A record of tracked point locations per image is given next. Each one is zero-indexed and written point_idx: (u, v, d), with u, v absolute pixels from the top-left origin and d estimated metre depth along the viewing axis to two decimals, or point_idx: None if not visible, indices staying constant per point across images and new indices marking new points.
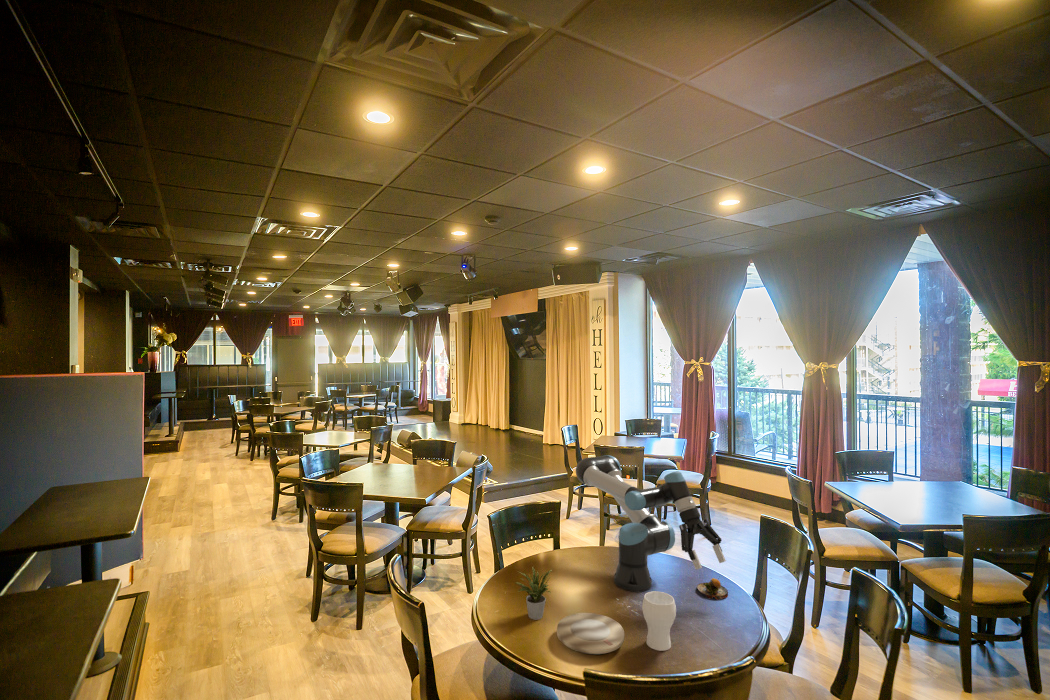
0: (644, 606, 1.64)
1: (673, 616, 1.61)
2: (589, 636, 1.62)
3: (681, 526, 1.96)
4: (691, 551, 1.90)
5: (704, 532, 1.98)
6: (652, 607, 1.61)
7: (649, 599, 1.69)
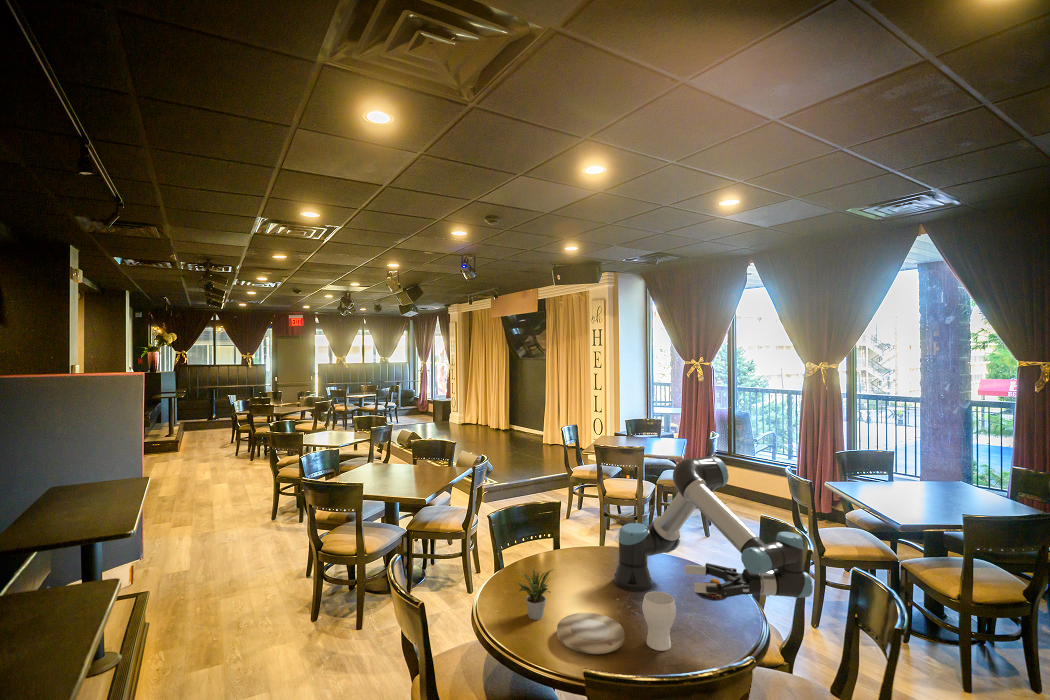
0: (644, 606, 1.64)
1: (673, 616, 1.61)
2: (589, 636, 1.62)
3: (747, 590, 1.55)
4: None
5: (724, 578, 1.66)
6: (652, 607, 1.61)
7: (649, 599, 1.69)
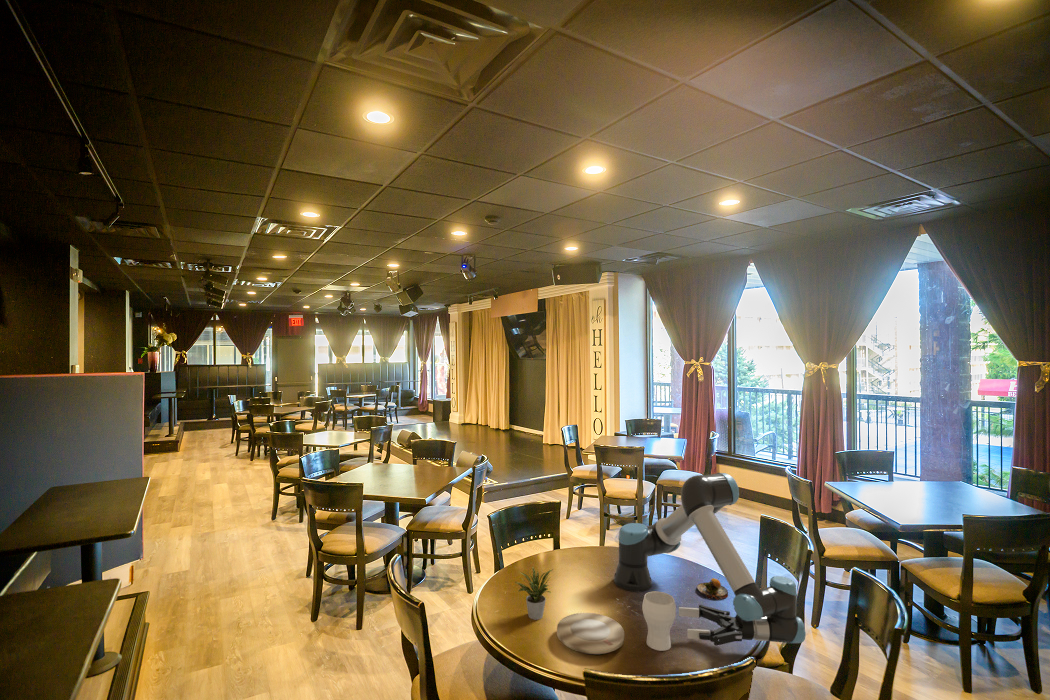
0: (644, 606, 1.64)
1: (673, 616, 1.61)
2: (589, 636, 1.62)
3: (740, 637, 1.55)
4: None
5: (717, 621, 1.65)
6: (652, 607, 1.61)
7: (649, 599, 1.69)
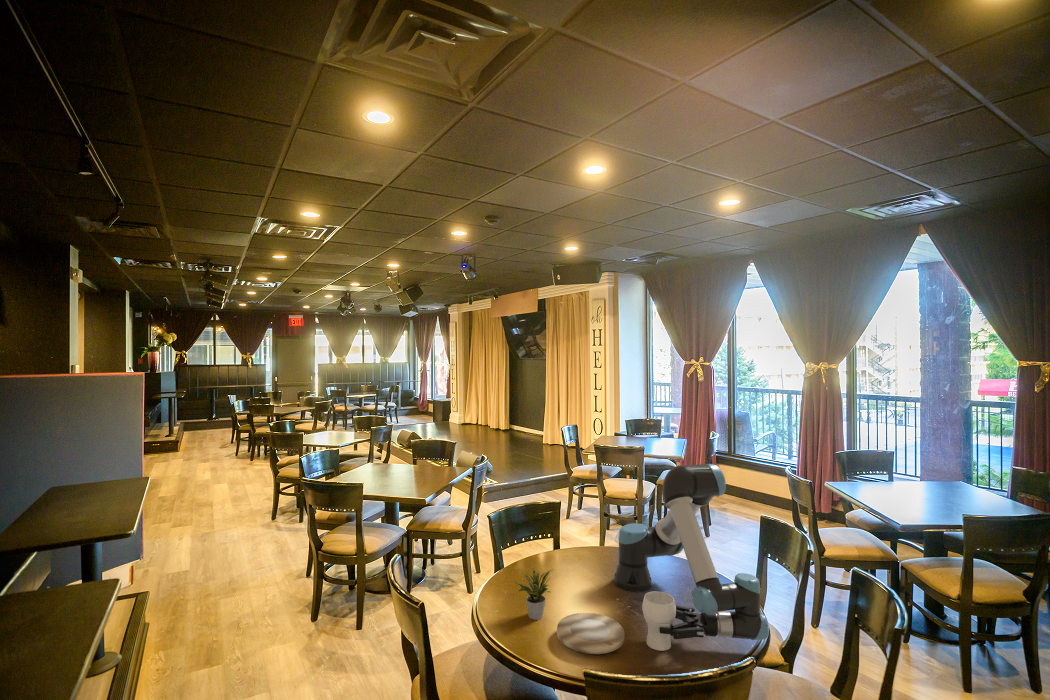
0: (644, 606, 1.64)
1: (673, 616, 1.61)
2: (589, 636, 1.62)
3: (701, 633, 1.57)
4: None
5: (683, 619, 1.67)
6: (652, 607, 1.61)
7: (649, 599, 1.69)
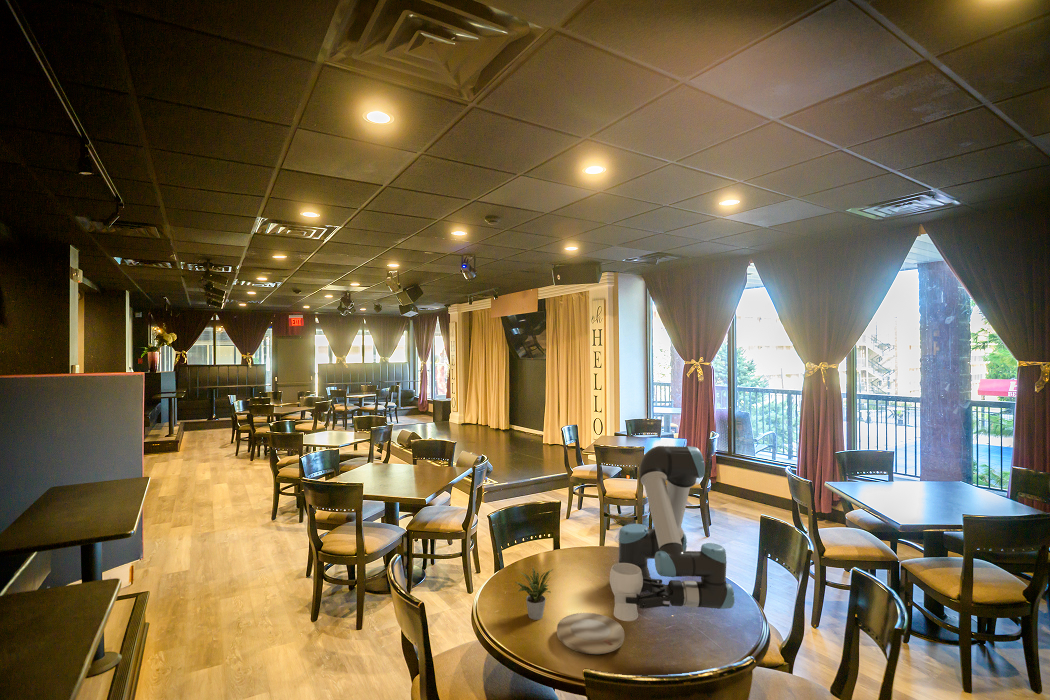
0: (611, 577, 1.63)
1: (640, 586, 1.60)
2: (589, 636, 1.62)
3: (667, 602, 1.56)
4: None
5: (650, 590, 1.66)
6: (619, 577, 1.60)
7: (617, 571, 1.68)
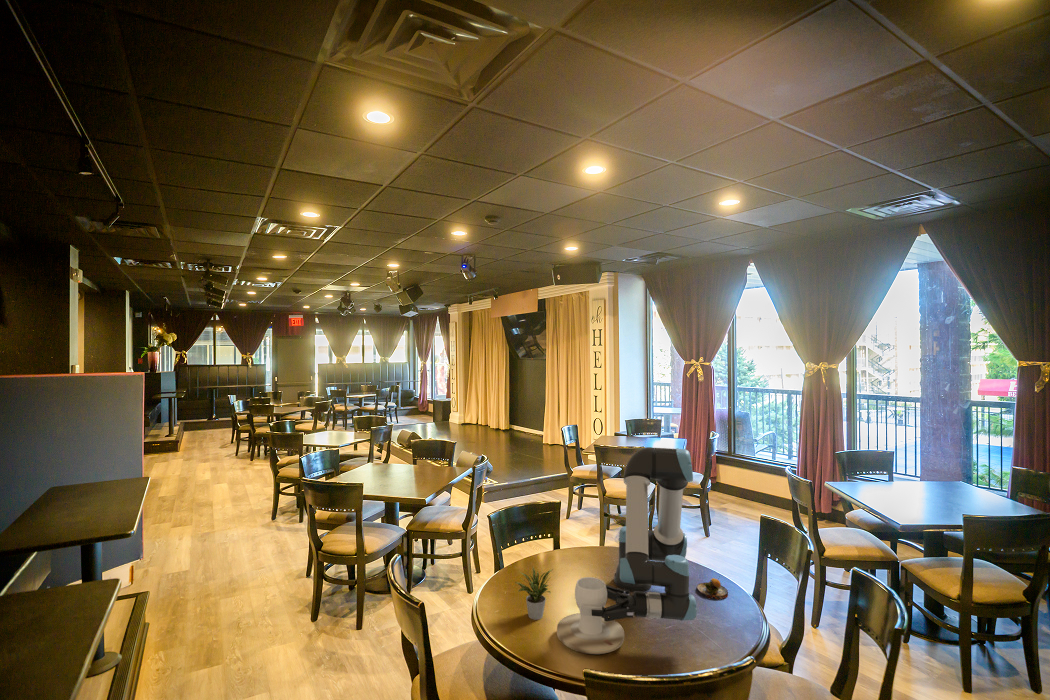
0: (576, 591, 1.66)
1: (603, 601, 1.63)
2: (589, 636, 1.62)
3: (631, 614, 1.58)
4: None
5: (615, 600, 1.69)
6: (582, 592, 1.63)
7: (583, 585, 1.71)
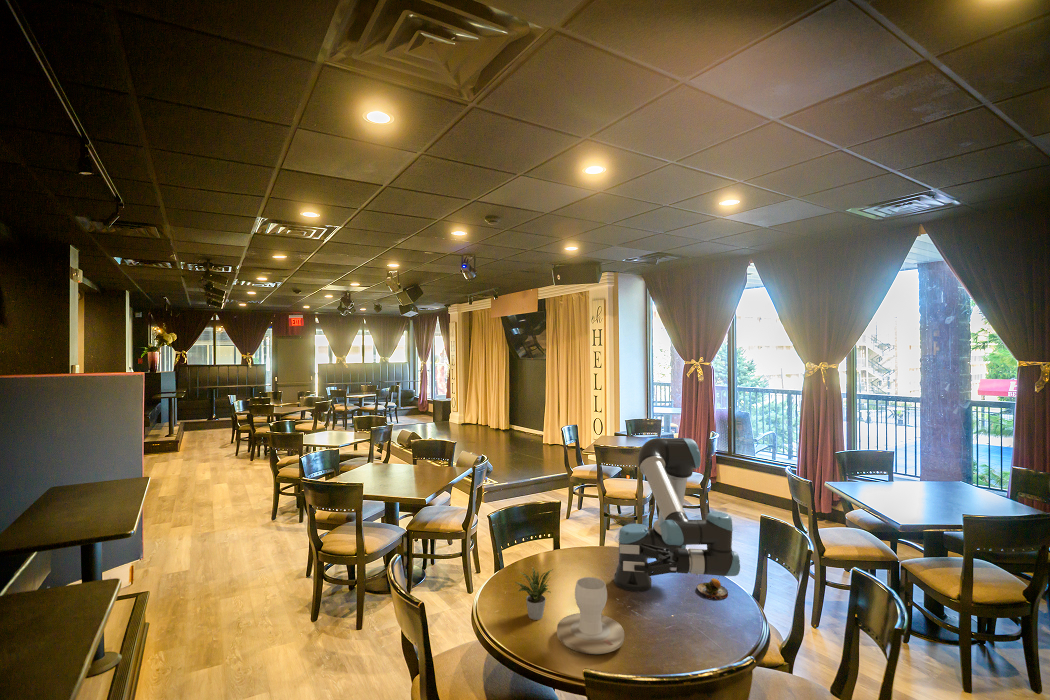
0: (576, 591, 1.66)
1: (603, 601, 1.63)
2: (589, 636, 1.62)
3: (674, 569, 1.57)
4: None
5: (656, 557, 1.67)
6: (582, 592, 1.63)
7: (583, 585, 1.71)
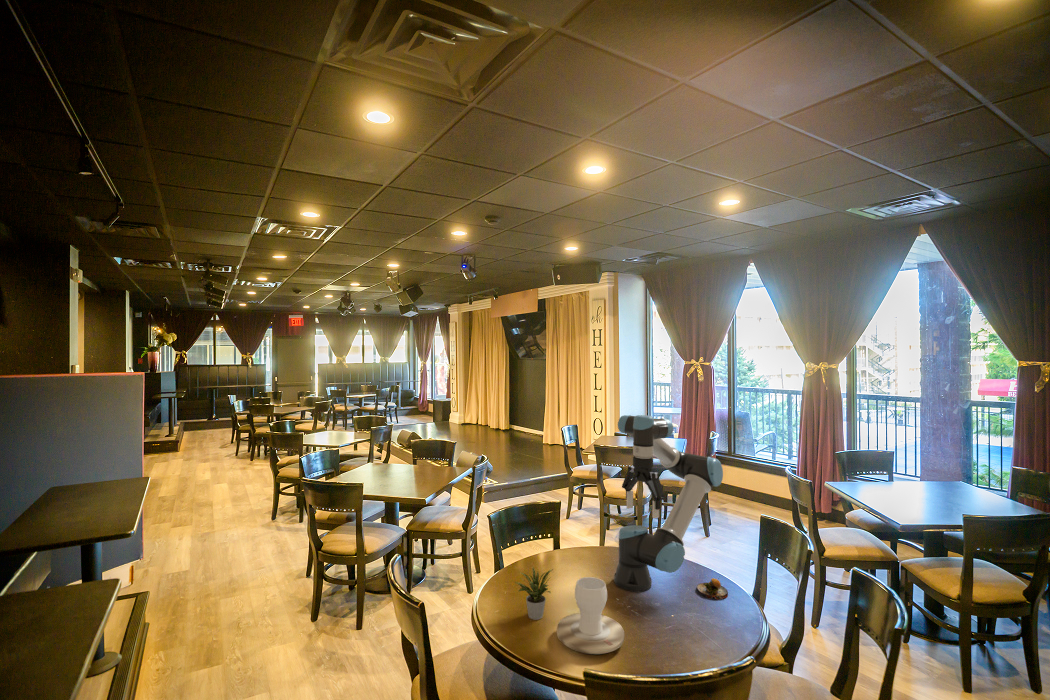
0: (576, 591, 1.66)
1: (603, 601, 1.63)
2: (589, 636, 1.62)
3: None
4: (626, 491, 1.97)
5: None
6: (582, 592, 1.63)
7: (583, 585, 1.71)
